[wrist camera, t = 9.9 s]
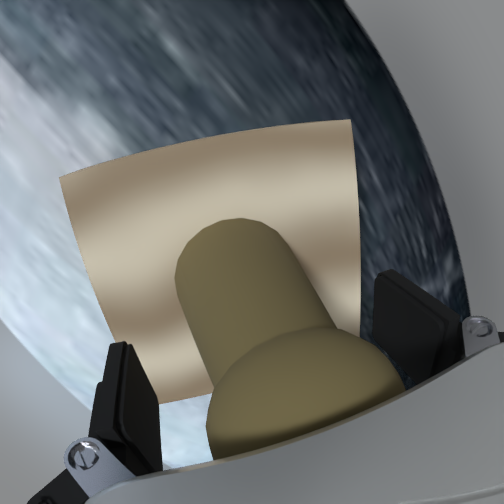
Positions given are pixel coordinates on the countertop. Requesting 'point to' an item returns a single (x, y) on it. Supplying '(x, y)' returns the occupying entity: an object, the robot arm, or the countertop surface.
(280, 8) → the countertop surface
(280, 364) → the olive tall waisted piece
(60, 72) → the countertop surface
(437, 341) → the robot arm
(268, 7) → the countertop surface
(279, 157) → the birch plinth
